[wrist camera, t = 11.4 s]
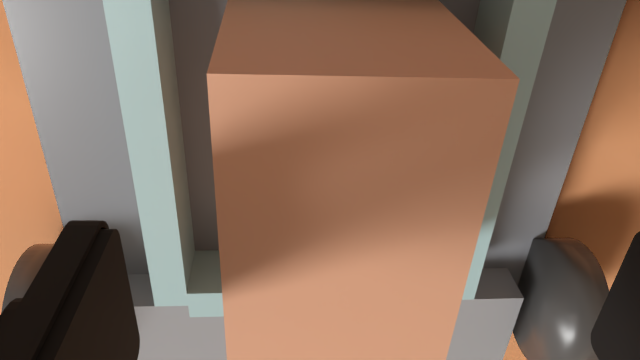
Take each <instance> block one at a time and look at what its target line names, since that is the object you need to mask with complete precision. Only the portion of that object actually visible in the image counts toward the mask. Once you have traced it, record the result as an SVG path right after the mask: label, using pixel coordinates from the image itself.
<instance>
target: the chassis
mask: <svg viewBox="0 0 640 360" xmlns="http://www.w3.org/2000/svg"><path fill="white" fill-rule="evenodd" d="M2 1H3V5H4V8H5V12H6V16H7V19H8V23H9V27H10V31H11V34H12V38H13V42H14V45H15V49H16V53H17V56H18V60H19V64H20V68H21V71H22V75H23V79H24V82H25V86H26V90H27V94H28V97H29V101H30V105H31V108H32V112H33V116H34V120H35V123H36V127H37V131H38V134H39V138H40V142H41V146H42V149H43V153H44V157H45V160H46V164H47V168H48V171H49V175H50V179H51V183H52V186H53V190H54V194H55V197H56V201H57V205H58V209H59V212H60V216H61V220H62V223H63V227H65V225H66V224H67V223H68V222H69V221H71V220H99V221H106V222H107V224H108V226H109V229H117V230H118V231H119V234H120V238H121V243H122V248H123V253H124V258H125V263H126V269H127V274H128V279H129V284H130V289H131V294H132V299H133V304H134V309H135V315H136V320H137V325H138V330H139V335H140V349H139V355H138V359H137V360H227V354H226V340H225V326H224V312H223V298H222V284H221V270H220V256H219V242H218V228H217V214H216V199H215V185H214V171H213V157H212V143H211V129H210V115H209V101H208V87H207V70H208V67H209V63H210V60H211V57H212V53H213V50H214V46H215V43H216V39H217V36H218V32H219V29H220V25H221V22H222V18H223V15H224V11H225V8H226V4H227V1H228V0H2ZM439 1H440V2H441V3H442V4H443V5H444V6H445V7H446V8H447V9H448V10H449V11H450V12H451V13H452V14H453V15H454V16H455V17H456V18H457V19H458V20H459V21H460V22H461V23H463V24H464V25H465V26H466V27H467V28H468V29H469V30H470V31H471V32H472V33H473V34H474V35H475V36H476V37H477V38H478V39H479V40H480V41H481V42H482V43H483V44H484V45H485V46H486V47H487V48H488V49H489V50H490V51H491V52H492V53H493V54H495V55H496V56H497V57H498V58H499V59H500V60H501V61H502V62H503V63H504V64H505V65H506V66H507V67H508V68H509V69H510V70H511V71H512V72H513V73H514V74H515V75H516V76H517V77H518V78H519V79H520V81H519V85H518V88H517V92H516V96H515V100H514V104H513V107H512V111H511V115H510V119H509V123H508V126H507V130H506V134H505V138H504V142H503V145H502V149H501V153H500V157H499V161H498V164H497V168H496V172H495V176H494V179H493V183H492V187H491V191H490V195H489V198H488V202H487V206H486V210H485V214H484V217H483V221H482V225H481V229H480V233H479V236H478V240H477V244H476V248H475V252H474V255H473V259H472V263H471V267H470V270H469V274H468V278H467V282H466V286H465V289H464V293H463V297H462V301H461V305H460V308H459V312H458V316H457V320H456V324H455V327H454V331H453V335H452V339H451V343H450V346H449V350H448V354H447V358H446V360H503V357H504V354H505V351H506V349H507V346H508V343H509V340H510V337H511V334H512V331H513V334H514V336H515V339H516V341H517V344H518V346H519V348H520V349H521V351H522V353H523V354H524V356H525V357H526V358H527V359H528V360H599V359H598V357H597V356H596V354H595V352H594V350H593V348H592V345H591V332H592V329H593V327H594V324H595V322H596V320H597V318H598V316H599V313H600V311H601V309H602V307H603V305H604V302H605V300H606V298H607V296H608V293H609V289H608V285H607V282H606V279H605V276H604V273H603V271H602V269H601V266H600V264H599V263H598V261H597V259H596V258H595V256H594V255H593V253H592V252H591V251H590V250H589V249H588V247H586V246H585V245H584V244H583V243H582V242H580V241H578V240H576V239H573V238H545V235H546V232H547V229H548V226H549V223H550V220H551V217H552V215H553V212H554V209H555V206H556V203H557V200H558V197H559V194H560V191H561V189H562V186H563V183H564V180H565V177H566V174H567V171H568V168H569V165H570V163H571V160H572V157H573V154H574V151H575V148H576V145H577V142H578V139H579V137H580V134H581V131H582V128H583V125H584V122H585V119H586V116H587V113H588V111H589V108H590V105H591V102H592V99H593V96H594V93H595V90H596V87H597V85H598V82H599V79H600V76H601V73H602V70H603V67H604V64H605V61H606V59H607V56H608V53H609V50H610V47H611V44H612V41H613V38H614V35H615V33H616V30H617V27H618V24H619V21H620V18H621V15H622V12H623V9H624V7H625V4H626V1H627V0H439ZM53 246H54V244H36V245H33V246H31V247H29V248H28V249H27V250H26V251H25V252H24V253H23V254H22V255H21V257H20V258H19V260H18V261H17V263H16V265H15V267H14V269H13V271H12V273H11V276H10V279H9V282H8V284H7V288H6V292H5V296H4V301H3V306H2V312H3V310H4V309H5V307H6V306H7V305H8V304H9V302H11V301H12V300H14V299H15V298H23V297H24V295H25V293H26V292H27V290H28V288H29V286H30V285H31V283H32V281H33V280H34V278H35V276H36V275H37V273H38V271H39V269H40V268H41V266H42V264H43V263H44V261H45V259H46V258H47V256H48V254H49V252H50V251H51V249H52V247H53Z"/></svg>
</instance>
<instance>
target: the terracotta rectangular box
mask: <svg viewBox="0 0 640 360" xmlns="http://www.w3.org/2000/svg"><path fill="white" fill-rule="evenodd" d="M519 81H520V79H519V78H518V77H517V76H516V75H515V74H514V73H513V72H512V71H511V70H510V69H509V68H508V67H507V66H506V65H505V64H504V63H503V62H502V61H501V60H500V59H499V58H498V57H497V56H496V55H495V54H493V53H492V52H491V51H490V50H489V49H488V48H487V47H486V46H485V45H484V44H483V43H482V42H481V41H480V40H479V39H478V38H477V37H476V36H475V35H474V34H473V33H472V32H471V31H470V30H469V29H468V28H467V27H466V26H465V25H464V24H463V23H461V22H460V21H459V20H458V19H457V18H456V17H455V16H454V15H453V14H452V13H451V12H450V11H449V10H448V9H447V8H446V7H445V6H444V5H443V4H442V3H441V2H440V1H439V0H228V1H227V4H226V8H225V11H224V15H223V18H222V22H221V25H220V29H219V32H218V36H217V39H216V43H215V46H214V50H213V53H212V57H211V60H210V63H209V67H208V70H207V87H208V101H209V115H210V129H211V143H212V157H213V171H214V185H215V199H216V214H217V228H218V242H219V256H220V270H221V284H222V298H223V312H224V326H225V340H226V354H227V360H446V358H447V354H448V350H449V346H450V343H451V339H452V335H453V331H454V327H455V324H456V320H457V316H458V312H459V308H460V305H461V301H462V297H463V293H464V289H465V286H466V282H467V278H468V274H469V270H470V267H471V263H472V259H473V255H474V252H475V248H476V244H477V240H478V236H479V233H480V229H481V225H482V221H483V217H484V214H485V210H486V206H487V202H488V198H489V195H490V191H491V187H492V183H493V179H494V176H495V172H496V168H497V164H498V161H499V157H500V153H501V149H502V145H503V142H504V138H505V134H506V130H507V126H508V123H509V119H510V115H511V111H512V107H513V104H514V100H515V96H516V92H517V88H518V85H519Z"/></svg>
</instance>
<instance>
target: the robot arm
mask: <svg viewBox="0 0 640 360" xmlns="http://www.w3.org/2000/svg"><path fill="white" fill-rule="evenodd" d="M591 345H592V348H593V350H594V352H595V354H596V356H597V357H598V359H599V360H640V232H638V233H637V234H636V235H635V236H634V238H633V240H632V243H631V245H630V247H629V249H628V251H627V254H626V256H625V258H624V260H623V262H622V265H621V267H620V269H619V271H618V274H617V276H616V278H615V280H614V282H613V285H612V287H611V289H610V291H609V293H608V296H607V298H606V300H605V302H604V305H603V307H602V309H601V311H600V313H599V316H598V318H597V320H596V322H595V324H594V327H593V329H592V332H591ZM139 349H140V335H139V330H138V325H137V320H136V315H135V309H134V304H133V299H132V294H131V289H130V284H129V279H128V274H127V269H126V263H125V258H124V253H123V248H122V243H121V238H120V234H119V231H118V230H117V229H109V226H108V224H107V222H106V221H99V220H71V221H69V222H68V223H67V224H66V225H65V227H64V229H63V230H62V232H61V234H60V235H59V237H58V239H57V241H56V242H55V244H54V246H53V247H52V249H51V251H50V252H49V254H48V256H47V258H46V259H45V261H44V263H43V264H42V266H41V268H40V269H39V271H38V273H37V275H36V276H35V278H34V280H33V281H32V283H31V285H30V286H29V288H28V290H27V292H26V293H25V295H24V297H23V298H15V299H14V300H12V301H11V302H9V304H8V305H7V306H6V307H5V309H4V310H3V312H2V313H1V315H0V360H137V359H138V355H139Z"/></svg>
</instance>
